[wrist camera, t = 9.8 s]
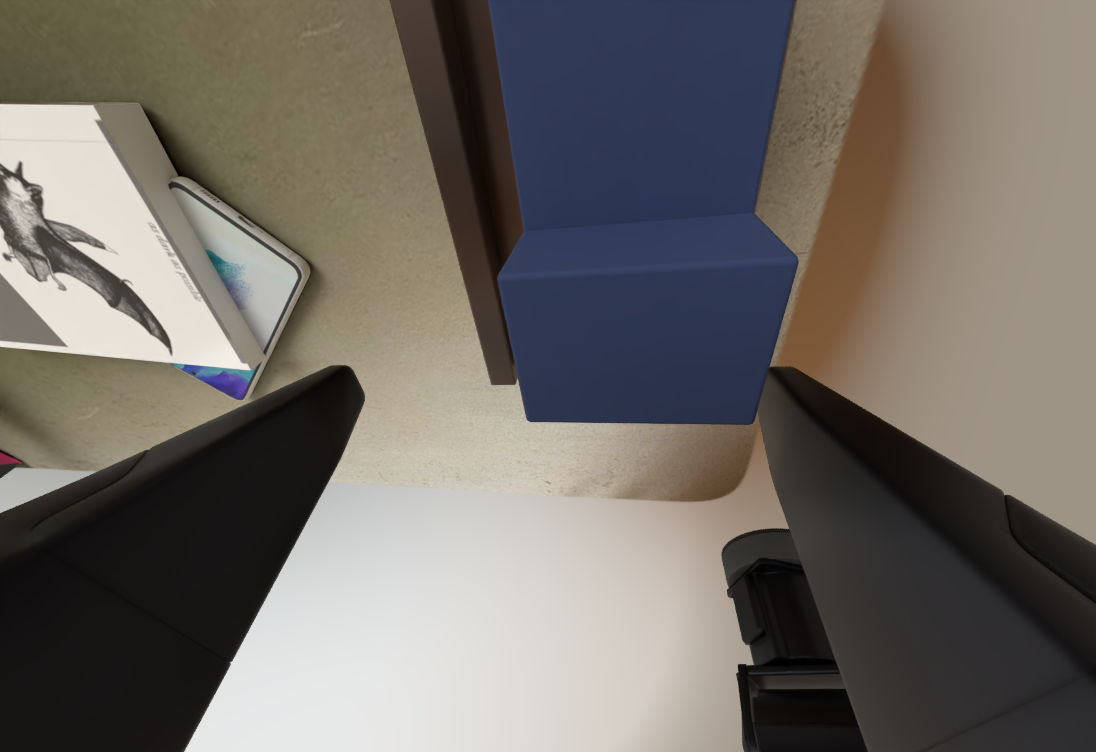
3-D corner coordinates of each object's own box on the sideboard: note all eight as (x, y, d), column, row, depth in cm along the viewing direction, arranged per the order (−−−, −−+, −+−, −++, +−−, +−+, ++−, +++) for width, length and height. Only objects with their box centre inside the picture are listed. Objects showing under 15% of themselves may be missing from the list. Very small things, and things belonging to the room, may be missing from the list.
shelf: (684, 253, 18) (734, 384, 11) (540, 262, 20) (490, 385, 12) (723, -153, 11) (973, -682, 3) (493, -97, 12) (285, -388, 5)
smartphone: (308, 271, 21) (243, 405, 29) (317, 264, 22) (251, 397, 30) (164, 170, 18) (136, 347, 26) (180, 166, 19) (148, 340, 27)
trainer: (704, 301, 10) (758, 440, 6) (556, 307, 11) (523, 435, 7) (774, -210, 5) (1168, -922, 2) (503, -138, 6) (311, -503, 2)
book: (-11, 327, 28) (-47, 342, 27) (-248, 98, 20) (-321, 99, 18) (272, 353, 26) (250, 370, 24) (139, 102, 17) (92, 105, 16)
